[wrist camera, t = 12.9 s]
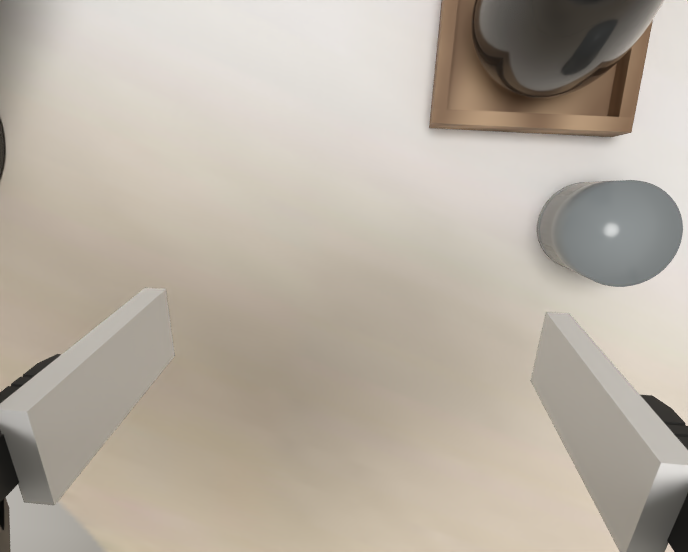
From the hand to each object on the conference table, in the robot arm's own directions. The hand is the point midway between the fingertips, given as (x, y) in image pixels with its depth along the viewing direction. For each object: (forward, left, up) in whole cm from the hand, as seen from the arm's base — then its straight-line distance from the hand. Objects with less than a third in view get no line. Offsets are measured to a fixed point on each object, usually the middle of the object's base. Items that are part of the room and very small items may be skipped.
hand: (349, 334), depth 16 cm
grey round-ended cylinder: (+16, +3, -24) cm, 29 cm away
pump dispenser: (+10, +17, -23) cm, 30 cm away
